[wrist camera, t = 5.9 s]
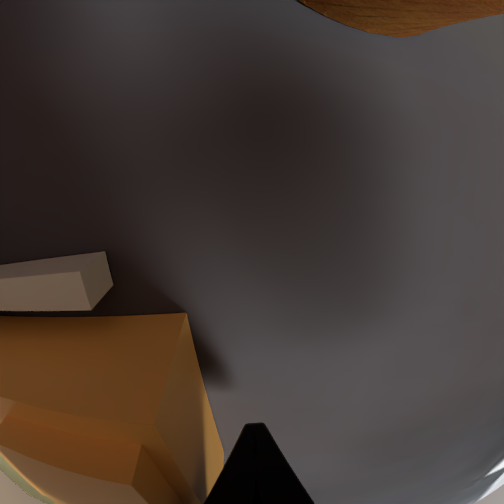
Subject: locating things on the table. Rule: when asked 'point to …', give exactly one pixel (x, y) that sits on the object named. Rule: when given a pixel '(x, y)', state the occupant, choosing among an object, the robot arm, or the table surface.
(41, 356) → the orange block with panel
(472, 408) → the table surface
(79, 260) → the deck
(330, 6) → the disposable coffee cup
